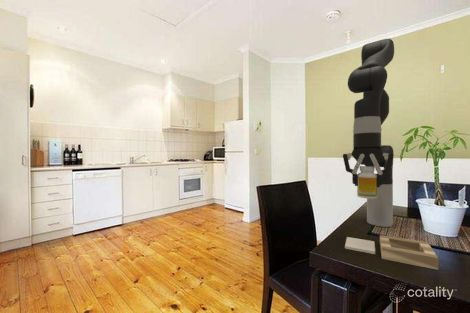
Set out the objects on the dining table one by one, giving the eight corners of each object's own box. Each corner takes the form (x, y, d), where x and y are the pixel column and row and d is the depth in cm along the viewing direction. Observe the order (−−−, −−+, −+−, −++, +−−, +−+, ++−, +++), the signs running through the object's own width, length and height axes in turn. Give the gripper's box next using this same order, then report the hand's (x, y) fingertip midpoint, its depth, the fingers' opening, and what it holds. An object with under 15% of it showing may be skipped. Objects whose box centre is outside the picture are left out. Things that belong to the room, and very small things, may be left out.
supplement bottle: (380, 199, 67) (380, 166, 67) (360, 198, 68) (361, 166, 68) (372, 196, 72) (372, 166, 72) (354, 195, 73) (354, 165, 73)
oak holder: (379, 244, 73) (379, 235, 73) (427, 252, 67) (427, 242, 67) (381, 258, 63) (381, 248, 63) (438, 269, 57) (438, 258, 57)
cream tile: (347, 239, 77) (347, 236, 77) (374, 243, 73) (374, 241, 73) (344, 248, 70) (344, 246, 70) (375, 254, 66) (375, 251, 66)
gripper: (393, 132, 70) (393, 186, 70) (342, 134, 77) (342, 183, 77) (396, 130, 63) (396, 189, 64) (340, 132, 70) (340, 186, 71)
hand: (366, 186), depth 70 cm, fingers closed on supplement bottle, 5 cm apart
